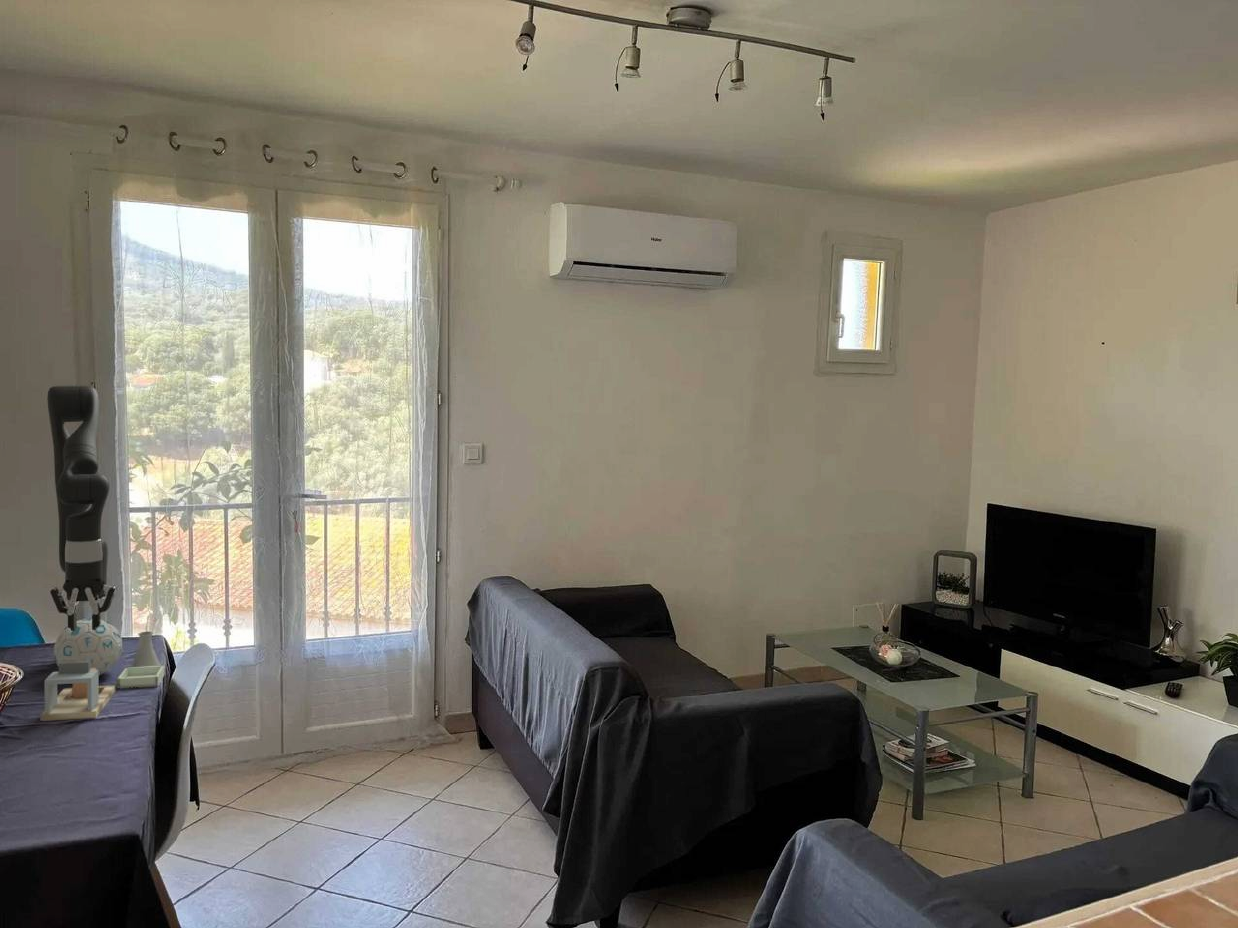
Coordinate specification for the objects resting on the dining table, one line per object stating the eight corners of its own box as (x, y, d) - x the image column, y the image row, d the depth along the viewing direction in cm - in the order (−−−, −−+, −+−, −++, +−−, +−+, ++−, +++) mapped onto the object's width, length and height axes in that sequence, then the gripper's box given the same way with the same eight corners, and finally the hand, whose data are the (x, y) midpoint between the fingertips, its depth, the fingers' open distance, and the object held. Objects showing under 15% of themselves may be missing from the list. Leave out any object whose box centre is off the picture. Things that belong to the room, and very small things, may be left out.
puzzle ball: (135, 669, 231) (135, 614, 230) (95, 688, 216) (95, 629, 215) (82, 665, 233) (81, 610, 232) (39, 683, 218) (38, 625, 217)
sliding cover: (53, 703, 201) (52, 661, 200) (98, 700, 204) (98, 659, 203) (44, 713, 195) (44, 669, 194) (91, 710, 198) (91, 667, 197)
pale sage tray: (125, 676, 225) (125, 667, 225) (164, 674, 228) (164, 665, 228) (117, 688, 217) (117, 678, 217) (157, 686, 220) (157, 676, 219)
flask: (124, 670, 230) (123, 633, 229) (149, 663, 237) (149, 627, 236) (141, 675, 227) (141, 638, 226) (167, 668, 233) (167, 631, 232)
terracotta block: (77, 696, 210) (77, 668, 210) (96, 695, 212) (96, 667, 211) (72, 702, 206) (72, 674, 206) (92, 701, 208) (91, 673, 207)
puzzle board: (64, 694, 212) (64, 688, 211) (115, 691, 215) (115, 685, 215) (40, 721, 195) (40, 714, 195) (96, 717, 198) (96, 711, 198)
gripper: (44, 562, 200) (45, 635, 202) (113, 560, 205) (114, 632, 206) (54, 555, 208) (55, 626, 209) (121, 554, 212) (121, 623, 213)
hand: (84, 628), depth 208 cm, fingers open, 4 cm apart
